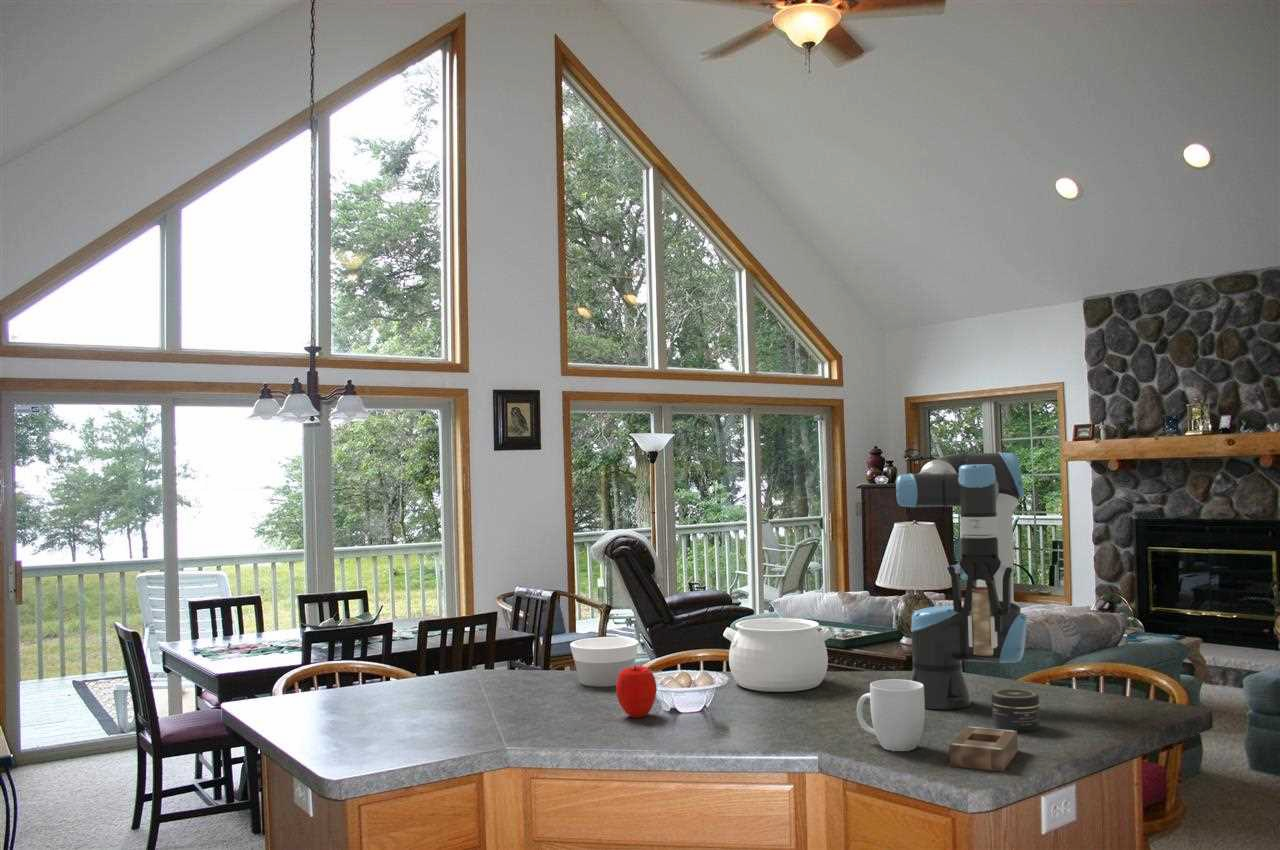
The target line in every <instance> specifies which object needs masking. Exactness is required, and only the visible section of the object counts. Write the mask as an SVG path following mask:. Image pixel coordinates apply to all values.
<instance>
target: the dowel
mask: <svg viewBox="0 0 1280 850" xmlns="http://www.w3.org/2000/svg"><path fill="white" fill-rule="evenodd" d="M991 616H992V605H991V601H990V597H989V592H988V588H987V587H977V586H975V587H974V588H972V622H973V649H974V654H975V655H981V656H989V655H993V648H991V622H990V617H991Z"/></svg>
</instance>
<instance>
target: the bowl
mask: <svg viewBox="0 0 1280 850" xmlns="http://www.w3.org/2000/svg"><path fill="white" fill-rule="evenodd" d="M639 644H640V642H639V640H637V639H634V638H630V637H619V636H602V637H600V636H599V637H597V636H596V637H588V638H581V639H578V640H574V641H572V642H571V643H570V644H569V646H570V650H571V655H572V657H573V661H574V664H575V668H576V669H575V670H576V673H577V675H578V679H579V682H580V684H582V685H583V686H587V687H588V686H589V687H599V688H600V687H616V682H617V678H618V676H619V673H620V672H621V671H622V670H623V669H626V668H631V667H634V666H635V661H636V657H637V654H638V648H639Z"/></svg>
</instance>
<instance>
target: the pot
mask: <svg viewBox="0 0 1280 850" xmlns="http://www.w3.org/2000/svg"><path fill="white" fill-rule="evenodd" d="M819 623H820V622H817V621H815V620H811V619H806V618H805V619H804V618H794V617H793V618H792V617H791V618H790V617H768V618H767V617H765V618H764V617H763V618H753V619H747V620H741V621H738V622H736V623H735V628H737V630H735V629H733V628H731V627H726V628H725V630H724V632H723V634H722V635H723V637H724V638H725V639H727V640H729V641H730V646H729V650H728V651H729V652H728V665H729V669H730V672H731V675H732V678H733V679H734V681H735V682H736V683H737V684H738V686H740V687H742V688H745V689H747V690H751V691H757V692H766V693H792V692H801V691H802V692H803V691H807V690H810V689H814V688H816V687H818V686H819V685H820V684H821V683H822V681H823V680H824V679H825V677H826V674H827V669H828V666H829V663H828V661H829V656H828V651H827V645H826V642H825V641H827V640H828V639H830V638H832V637H833V633H832V631H831V629H830V628H829V627H828V628H826V629H824V630H823V631H821V632H819V630H818V628H819V626H820V624H819Z"/></svg>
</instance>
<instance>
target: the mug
mask: <svg viewBox="0 0 1280 850" xmlns="http://www.w3.org/2000/svg"><path fill="white" fill-rule="evenodd" d="M866 699H869V702H870V707H869V709H870V715H871V722H872V726H873V727H871V726H869V725H868V724H867V722H866V720H865V719H864V714H863V713H864V712H863V707H864V703H865V701H866ZM925 711H926V708H925V702H924V685H923V684H922V683H919V682H916V681H910V679H909V680H908V679H879V680H876V681H875V680H874V681H872V682H870V684H869V692H867V693H864V694H862V695H861V696H860V697H859V699H858V702H857V704H856V718H857V721H858V723H859V726H861V727H862V729H863V730H864V731H866V732H867V733H868V734H872V735H874V736H876V739H877V740H878V742H879V744H880V746H881V747H882V748H883V749H884V750H886V751H889V750H891V751H890V752H895V751H907V752H911V751H910V750H912V751H914V750H915V749H916V748H917V747H918V745H919V742H920V740H921V738H922V734H923V730H924V727H925V726H924V725H925V715H926V713H925ZM913 749H914V750H913Z"/></svg>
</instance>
